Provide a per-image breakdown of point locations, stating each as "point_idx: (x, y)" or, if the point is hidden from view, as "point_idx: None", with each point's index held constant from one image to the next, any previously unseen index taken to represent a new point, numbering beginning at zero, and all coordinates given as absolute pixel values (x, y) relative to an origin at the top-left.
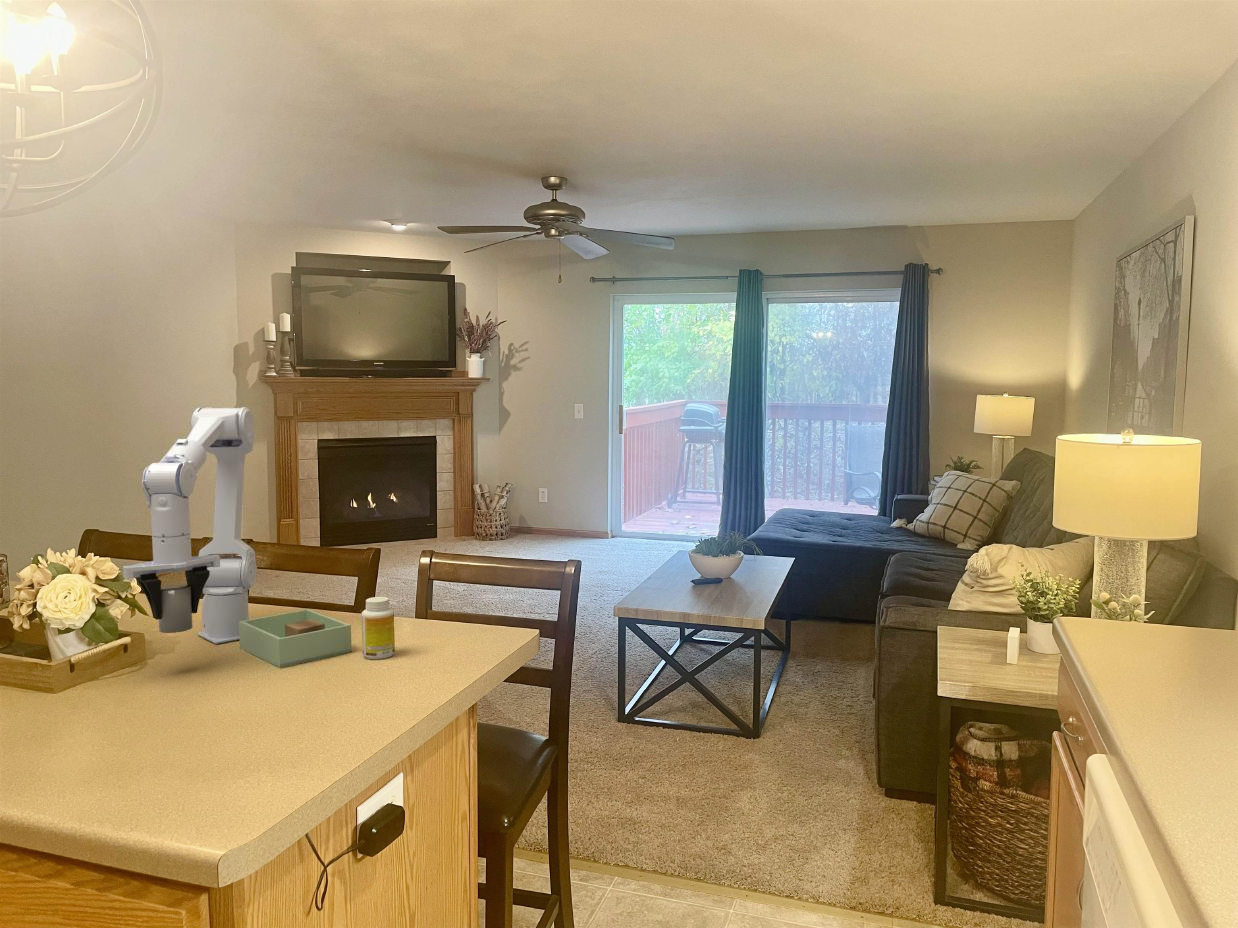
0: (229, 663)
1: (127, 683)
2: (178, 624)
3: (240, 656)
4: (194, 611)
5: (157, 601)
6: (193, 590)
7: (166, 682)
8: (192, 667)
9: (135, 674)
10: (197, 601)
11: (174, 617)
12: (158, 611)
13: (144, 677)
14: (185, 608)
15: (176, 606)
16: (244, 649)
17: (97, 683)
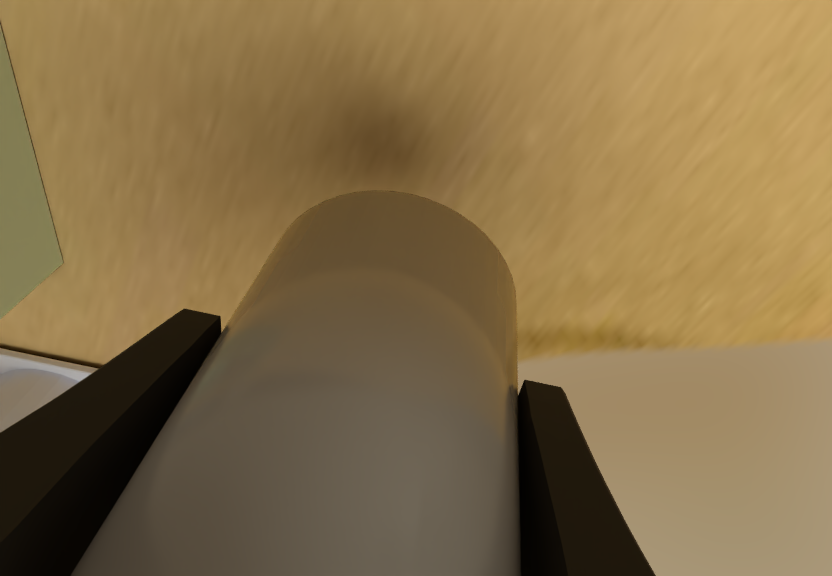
0: (168, 75)
1: (678, 205)
2: (420, 234)
3: (88, 144)
4: (198, 321)
5: (602, 554)
6: (51, 537)
7: (570, 37)
8: (338, 177)
9: (559, 296)
10: (105, 376)
11: (442, 297)
12: (569, 440)
13: (569, 224)
14: (296, 324)
15: (400, 375)
16: (48, 217)
17: (734, 315)
